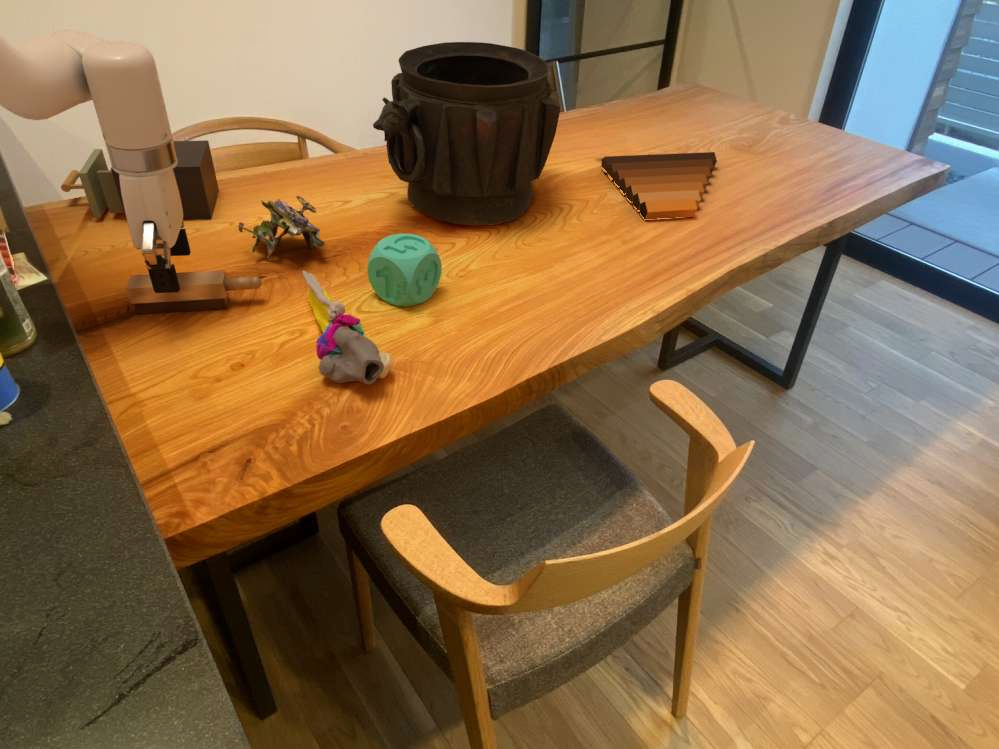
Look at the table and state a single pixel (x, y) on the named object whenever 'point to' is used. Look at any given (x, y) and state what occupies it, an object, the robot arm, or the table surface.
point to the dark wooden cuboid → (192, 179)
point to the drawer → (96, 185)
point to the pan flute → (662, 181)
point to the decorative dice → (404, 269)
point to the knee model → (343, 341)
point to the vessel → (469, 129)
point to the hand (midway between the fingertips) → (173, 272)
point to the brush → (187, 292)
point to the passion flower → (285, 225)
